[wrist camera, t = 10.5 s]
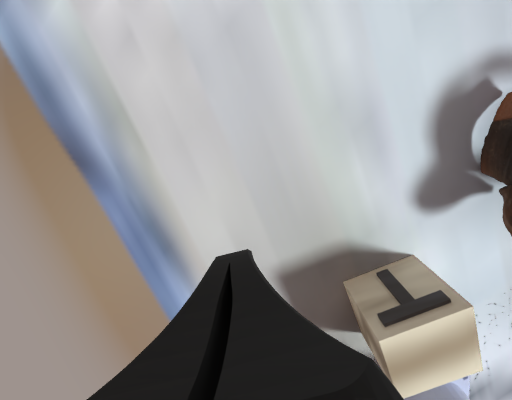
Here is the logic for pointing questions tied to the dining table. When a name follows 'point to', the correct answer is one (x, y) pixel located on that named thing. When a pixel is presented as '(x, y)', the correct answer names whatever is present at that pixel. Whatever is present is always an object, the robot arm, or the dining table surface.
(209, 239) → the dining table surface
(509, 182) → the brown curved wooden piece
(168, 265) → the dining table surface
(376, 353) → the letter cube
